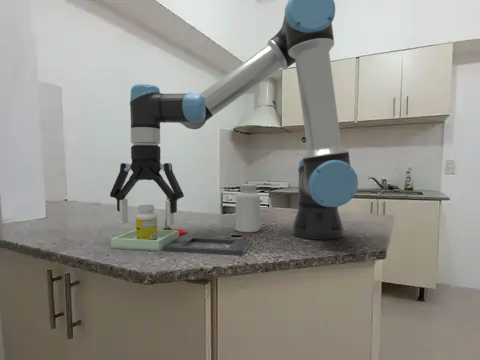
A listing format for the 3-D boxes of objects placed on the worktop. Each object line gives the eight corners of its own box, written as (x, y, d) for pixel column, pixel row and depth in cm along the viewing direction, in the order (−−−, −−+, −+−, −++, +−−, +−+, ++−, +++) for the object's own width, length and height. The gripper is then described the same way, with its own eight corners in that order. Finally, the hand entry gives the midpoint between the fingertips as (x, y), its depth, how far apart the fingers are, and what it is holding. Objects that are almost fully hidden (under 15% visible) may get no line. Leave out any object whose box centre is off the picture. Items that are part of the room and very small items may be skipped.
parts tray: (179, 239, 91) (179, 230, 91) (158, 251, 79) (158, 241, 79) (137, 237, 94) (137, 228, 94) (111, 248, 81) (110, 238, 81)
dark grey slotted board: (251, 243, 87) (251, 239, 87) (242, 255, 75) (242, 250, 75) (181, 239, 91) (181, 236, 91) (163, 250, 79) (163, 246, 79)
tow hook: (164, 231, 104) (152, 236, 95) (165, 192, 104) (153, 193, 95) (189, 233, 103) (179, 238, 94) (190, 192, 103) (180, 193, 94)
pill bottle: (258, 233, 100) (259, 185, 99) (233, 232, 101) (233, 185, 100) (261, 228, 107) (261, 183, 107) (237, 227, 109) (237, 183, 108)
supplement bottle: (136, 240, 88) (135, 204, 88) (156, 238, 90) (156, 204, 89) (136, 244, 83) (135, 207, 83) (157, 243, 85) (157, 206, 84)
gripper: (195, 145, 86) (195, 223, 87) (112, 146, 91) (113, 220, 92) (184, 143, 79) (185, 228, 80) (95, 144, 84) (96, 225, 85)
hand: (146, 224), depth 86 cm, fingers open, 13 cm apart
